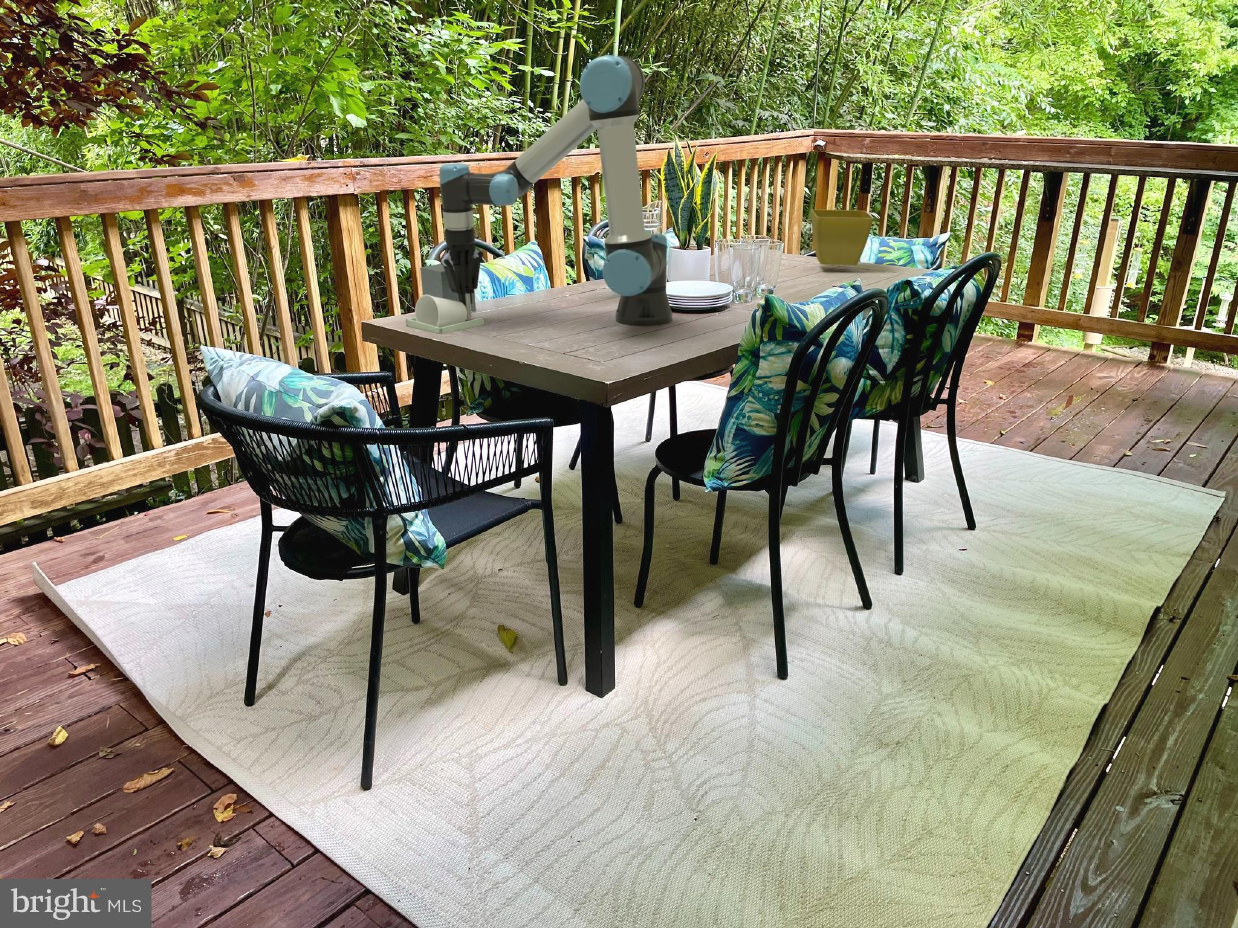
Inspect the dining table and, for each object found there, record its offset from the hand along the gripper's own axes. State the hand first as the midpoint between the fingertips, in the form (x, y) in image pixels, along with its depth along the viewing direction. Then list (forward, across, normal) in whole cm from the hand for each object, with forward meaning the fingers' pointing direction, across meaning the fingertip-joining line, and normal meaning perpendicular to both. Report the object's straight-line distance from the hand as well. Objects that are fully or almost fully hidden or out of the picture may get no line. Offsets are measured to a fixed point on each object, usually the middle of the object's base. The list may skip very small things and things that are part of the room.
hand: (466, 317), depth 238 cm
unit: (+2, -4, -12) cm, 13 cm away
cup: (-2, +2, +1) cm, 3 cm away
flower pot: (+6, -140, +33) cm, 144 cm away
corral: (+2, +8, +1) cm, 8 cm away
